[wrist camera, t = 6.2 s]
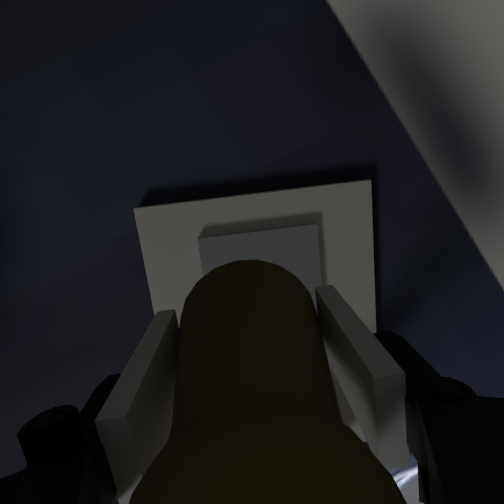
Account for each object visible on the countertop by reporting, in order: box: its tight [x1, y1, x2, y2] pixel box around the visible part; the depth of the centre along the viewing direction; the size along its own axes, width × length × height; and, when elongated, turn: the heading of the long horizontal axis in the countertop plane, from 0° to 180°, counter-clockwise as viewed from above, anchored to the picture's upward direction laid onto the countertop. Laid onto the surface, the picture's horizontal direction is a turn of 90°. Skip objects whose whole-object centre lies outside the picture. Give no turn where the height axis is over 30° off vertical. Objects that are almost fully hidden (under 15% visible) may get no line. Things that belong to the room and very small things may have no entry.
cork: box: [129, 260, 407, 504], centre depth 10 cm, size 6×6×11 cm
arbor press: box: [134, 180, 376, 442], centre depth 29 cm, size 20×26×8 cm
